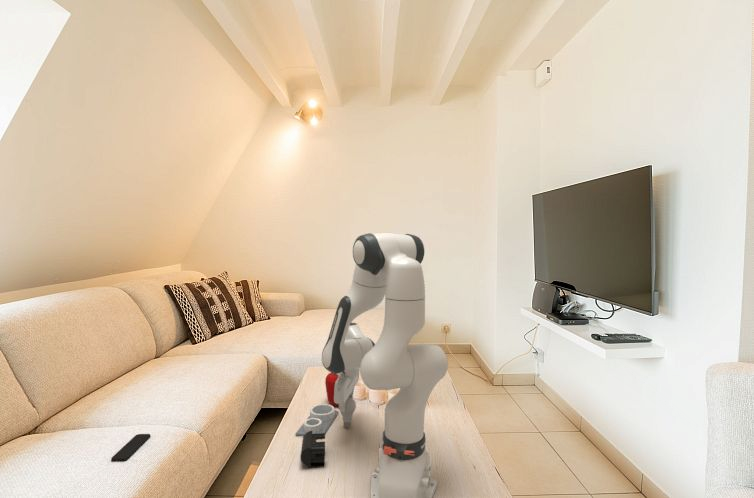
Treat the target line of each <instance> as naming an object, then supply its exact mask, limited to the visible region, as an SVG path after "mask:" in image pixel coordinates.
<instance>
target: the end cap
mask: <svg viewBox="0 0 754 498" xmlns="http://www.w3.org/2000/svg"><path fill="white" fill-rule="evenodd" d="M324 439H326V434H325V433H318V434H312V431H309V432H307V433H306V434H305V435H304V437H302V444H301V451H300V462H301V463H302V464H303V465H304V466H306V467H307V468H309V469H316V468H317V469H318V468H319V469H320V468H325V464H326V463H325V462H326V461H325V458H326V441H318V440H324Z"/></svg>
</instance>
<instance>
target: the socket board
mask: <svg viewBox="0 0 754 498" xmlns="http://www.w3.org/2000/svg"><path fill="white" fill-rule="evenodd" d="M338 415H339V410H336V409H335V406H333V405H332V404H330V403H329V404H328V403H321V404H316V405H313V406H311V408H310V409H309V416H308V417H307V418H306V419H305V420H304V421H303V423H302V425H301V426H300V427H299V429H297V431H296V433H295V437H298V436H303V437H304V435H305V434H306V433H307V432H309V431H312V434H318V433H325V435H326V434H327V433H328V431H329V429H330V428H331V426H332V424H333V423H334V421H335V420H336V418H337V417H338ZM329 427H330V428H329ZM303 437H302V438H303Z"/></svg>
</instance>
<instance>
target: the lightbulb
mask: <svg viewBox="0 0 754 498" xmlns="http://www.w3.org/2000/svg"><path fill="white" fill-rule="evenodd" d="M345 405H346V410H345V412H341V411H340V406H338V409H339V410H338V411H339V412H340V414H341V415H342V421H343V427H344V428H345V429H348V428H350V427H351V426H352V418H353V415H354V412H355V410H356V408H357V404H356V401H355V400H354V399H352V398H350V397H348V398H347V400H346V402H345Z"/></svg>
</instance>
